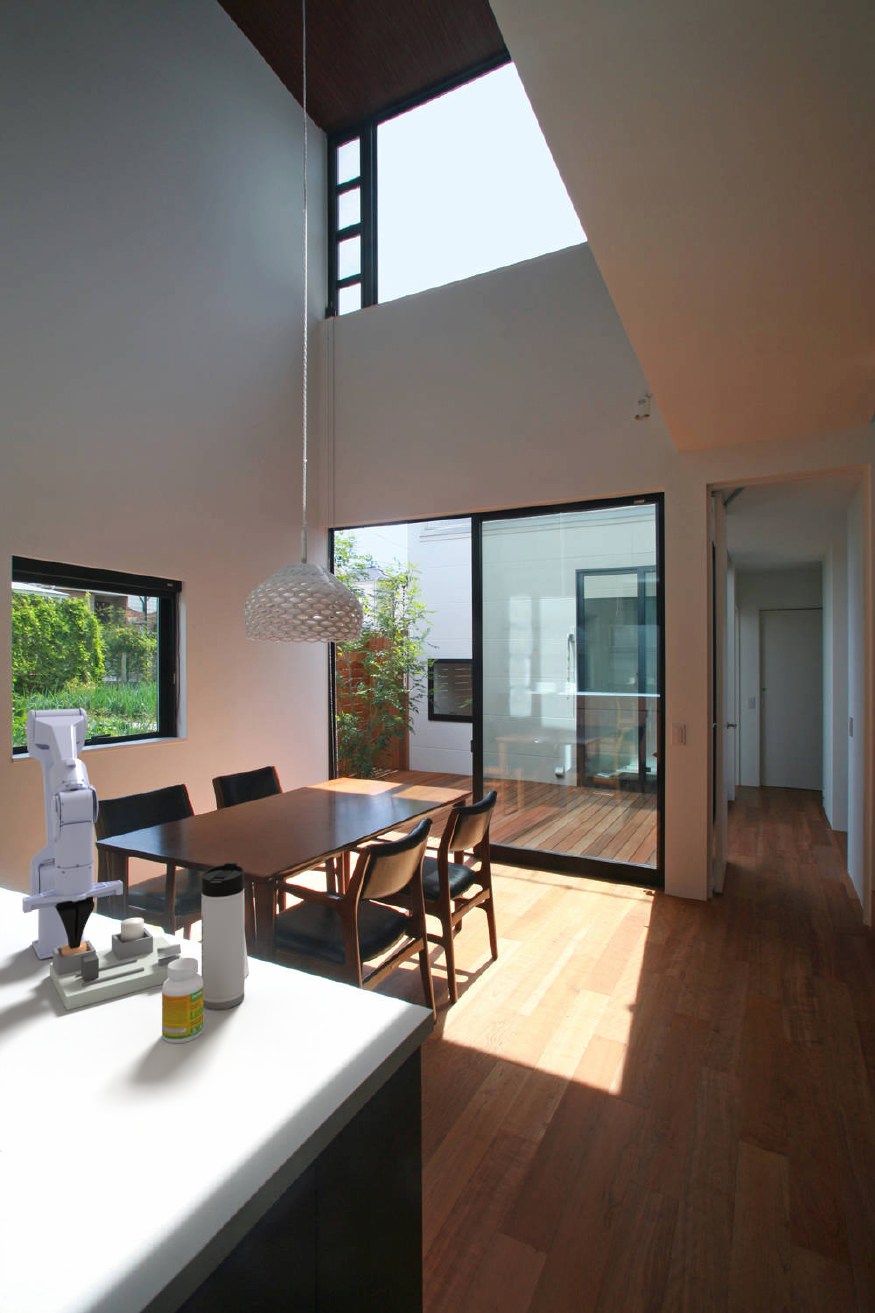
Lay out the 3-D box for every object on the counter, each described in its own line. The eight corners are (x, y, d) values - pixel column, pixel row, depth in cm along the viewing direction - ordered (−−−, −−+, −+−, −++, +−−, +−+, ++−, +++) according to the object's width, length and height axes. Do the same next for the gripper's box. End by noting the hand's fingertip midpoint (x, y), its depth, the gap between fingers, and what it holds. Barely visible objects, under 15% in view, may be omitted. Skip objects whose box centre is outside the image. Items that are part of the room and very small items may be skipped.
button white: (118, 938, 118) (118, 920, 118) (140, 933, 120) (140, 916, 120) (123, 944, 115) (123, 927, 115) (146, 939, 117) (146, 922, 117)
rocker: (157, 957, 113) (157, 948, 114) (173, 953, 115) (173, 944, 115) (164, 957, 110) (163, 948, 111) (181, 953, 112) (180, 944, 112)
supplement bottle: (194, 1044, 92) (194, 972, 92) (155, 1044, 92) (155, 972, 92) (209, 1024, 97) (209, 955, 97) (171, 1023, 97) (171, 955, 97)
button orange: (59, 963, 112) (59, 945, 112) (84, 957, 115) (84, 939, 115) (63, 971, 110) (63, 952, 110) (88, 964, 112) (88, 946, 112)
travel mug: (251, 990, 107) (251, 862, 107) (234, 1011, 100) (234, 875, 101) (213, 989, 108) (213, 862, 108) (194, 1009, 101) (194, 874, 101)
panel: (49, 975, 113) (49, 947, 113) (162, 947, 124) (162, 922, 124) (66, 1010, 101) (66, 979, 101) (189, 976, 112) (189, 948, 112)
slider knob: (81, 975, 108) (81, 956, 108) (94, 971, 109) (94, 953, 109) (84, 981, 105) (84, 962, 105) (98, 978, 107) (98, 958, 107)
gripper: (26, 877, 105) (26, 966, 104) (127, 860, 114) (127, 942, 113) (20, 867, 110) (20, 951, 110) (117, 852, 119) (117, 930, 119)
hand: (74, 946), depth 112 cm, fingers closed, pressing on button orange
